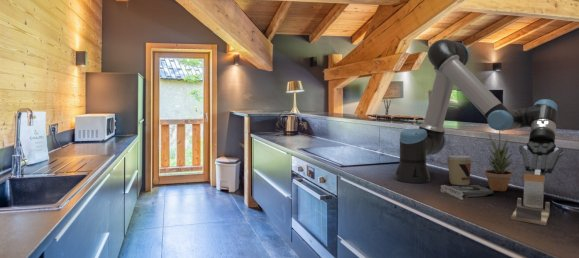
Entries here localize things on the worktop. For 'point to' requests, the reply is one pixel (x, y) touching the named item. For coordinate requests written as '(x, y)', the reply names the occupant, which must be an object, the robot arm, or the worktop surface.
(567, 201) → the worktop surface
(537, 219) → the base
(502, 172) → the potted plant
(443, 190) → the graphics card
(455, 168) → the coffee cup
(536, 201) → the latch lever
